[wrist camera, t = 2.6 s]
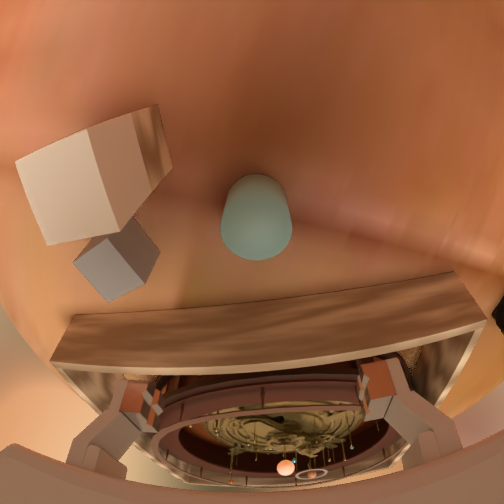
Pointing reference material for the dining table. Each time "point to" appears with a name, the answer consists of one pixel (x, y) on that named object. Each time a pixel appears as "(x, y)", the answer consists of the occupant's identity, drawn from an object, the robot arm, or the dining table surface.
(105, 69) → the dining table surface
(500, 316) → the yellow dark brown cube
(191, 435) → the planetary model
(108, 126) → the cream white cube
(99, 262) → the slate block
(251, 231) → the sage green cylinder
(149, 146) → the tower base
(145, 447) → the orrery frame
